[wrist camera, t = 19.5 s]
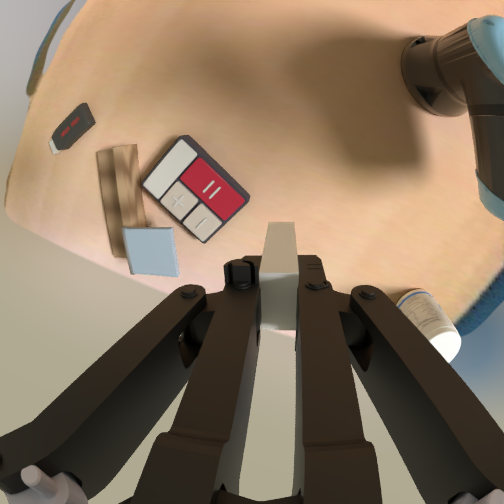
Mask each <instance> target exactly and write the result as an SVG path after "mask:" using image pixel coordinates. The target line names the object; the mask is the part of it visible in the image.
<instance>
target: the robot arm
mask: <svg viewBox="0 0 504 504" xmlns="http://www.w3.org/2000/svg"><path fill="white" fill-rule="evenodd" d="M401 69H402V74H403V78H404V81H405V83H406V85H407V87H408V89H409V91H410V93H411V94H412V96H413V97H414V98H415V100H416V101H417V102H418V103H419V104H420V105H421V106H422V107H424V108H425V109H426V110H428V111H429V112H431V113H433V114H435V115H438V116H441V117H457V116H460V115H463V114H465V113H466V112H467V111H468V112H469V118H470V124H471V130H472V136H473V143H474V151H475V160H476V170H475V171H476V177H477V179H478V189H479V197H480V200H481V202H482V203H483V205H484V207H485V208H486V209H487V210H488V211H489V212H490V213H491V214H493V215H494V216H496V217H497V218H499V219H501V220H503V221H504V18H503V17H500V16H496V15H487V16H484V17H481V18H474V19H471V20H470V21H469V22H468V23H466V24H464V25H462V26H460V27H458V28H456V29H455V30H453V31H451V32H449V33H447V34H445V35H444V36H422V37H419V38H417V39H415V40H413V41H412V42H410V43H409V44H408V45H407V46H406V48H405V49H404V51H403V54H402V59H401ZM478 115H479V116H478ZM480 115H485V116H480ZM486 115H490V116H486ZM224 275H225V287H224V289H223V291H220V292H217V293H211V294H206V292H205V289H204V288H203V287H202V286H199V285H193V284H189V285H184V286H182V287H179V288H177V289H176V290H174V291H173V292H172V293H171V294H170V295H169V296H168V297H167V298H165V299H164V300H163V301H162V302H161V303H160V304H159V305H157V306H156V307H155V308H154V309H153V310H152V311H151V312H150V313H148V315H146V316H145V317H144V318H143V319H142V320H141V321H140V322H139V323H137V324H136V325H135V326H134V327H133V328H132V329H131V330H130V331H128V332H127V333H126V334H125V335H124V336H123V337H122V338H121V339H120V340H118V341H117V342H116V343H115V344H114V345H113V346H112V347H111V348H110V349H109V350H108V351H106V352H105V353H104V354H103V355H102V356H101V357H100V358H99V359H98V360H97V361H95V363H93V364H92V365H91V366H90V367H89V368H88V369H87V370H86V371H85V372H84V373H83V374H81V375H80V376H79V377H78V378H77V379H76V380H75V381H74V382H73V383H72V384H71V385H70V386H69V387H68V388H67V389H65V390H64V392H62V393H61V394H60V395H59V396H58V397H57V398H56V399H55V400H54V401H53V402H52V403H51V404H50V405H49V406H48V407H47V408H46V409H45V410H43V411H42V412H41V413H40V414H39V415H38V416H37V417H36V418H35V419H34V420H33V421H32V422H30V423H28V424H26V425H24V426H22V427H20V428H18V429H16V430H14V431H12V432H10V433H8V434H6V435H4V436H2V437H0V489H1V490H2V491H3V492H4V493H5V495H6V497H7V499H8V502H9V504H88V500H89V499H91V498H93V497H94V496H96V495H97V494H98V493H99V492H100V491H102V490H103V489H104V488H105V487H106V486H107V485H108V484H109V483H110V482H111V480H113V478H114V477H115V476H116V475H117V473H118V472H119V471H120V470H121V468H122V467H123V466H124V465H125V463H126V462H127V461H128V459H129V458H130V457H131V455H132V454H133V453H134V452H135V450H136V449H137V448H138V446H139V445H140V444H141V443H142V441H143V440H144V439H145V437H146V436H147V435H148V434H149V432H150V431H151V430H152V428H153V427H154V426H155V424H156V423H157V422H158V420H159V419H160V418H161V416H162V415H163V414H164V412H165V411H166V410H167V408H168V407H169V406H170V404H171V403H172V402H173V400H174V399H175V398H176V396H177V395H178V394H179V392H180V391H181V390H182V388H183V387H184V386H185V384H186V383H187V381H188V380H189V381H188V384H187V386H186V389H185V392H184V395H183V397H182V400H181V403H180V405H179V408H178V411H177V413H176V416H175V419H174V421H173V424H172V427H171V429H170V430H169V431H168V432H163V433H160V434H159V435H158V436H157V437H156V440H155V442H154V443H153V446H152V448H151V451H150V453H149V456H148V459H147V461H146V464H145V466H144V469H143V471H142V474H141V477H140V479H139V482H138V484H137V487H136V490H135V493H134V495H133V496H132V497H130V498H128V499H126V500H125V501H123V502H121V503H119V504H382V495H381V486H380V478H379V472H378V464H377V457H376V453H375V449H374V446H373V444H372V443H371V442H368V441H366V440H365V438H364V433H363V428H362V421H361V415H360V409H359V404H358V398H357V393H356V388H355V383H354V377H353V373H352V368H351V365H352V366H353V368H354V370H355V372H356V373H357V375H358V377H359V379H360V381H361V382H362V384H363V386H364V388H365V389H366V391H367V393H368V395H369V397H370V399H371V400H372V402H373V404H374V406H375V408H376V409H377V412H378V413H379V415H380V417H381V419H382V420H383V423H384V425H385V426H386V428H387V430H388V432H389V434H390V436H391V438H392V439H393V441H394V443H395V445H396V447H397V449H398V451H399V453H400V455H401V457H402V459H403V461H404V463H405V465H406V466H407V469H408V471H409V473H410V474H411V476H412V478H413V480H414V483H415V485H416V487H417V489H418V490H419V493H420V494H421V496H422V498H423V499H424V501H425V503H426V504H504V433H503V431H502V430H501V429H500V427H499V426H498V425H497V423H496V422H495V420H494V419H493V418H492V417H491V415H490V414H489V412H488V411H487V410H486V409H485V407H484V406H483V405H482V404H481V402H480V401H479V400H478V398H477V397H476V396H475V394H474V393H473V392H472V391H471V390H470V388H469V387H468V386H467V385H466V383H465V382H464V381H463V380H462V378H461V377H460V376H459V375H458V374H457V373H456V371H455V370H454V369H453V368H452V367H451V365H450V364H449V363H448V362H447V361H446V360H445V358H444V357H443V356H442V355H441V354H440V353H439V352H438V350H437V349H436V348H435V347H434V346H433V345H432V344H431V343H430V341H429V340H428V339H427V338H426V337H425V336H424V335H423V334H422V333H421V332H420V330H419V329H418V328H417V327H416V326H415V325H414V324H413V323H412V322H411V321H410V320H409V319H408V317H407V316H406V315H405V314H404V313H403V312H402V311H401V310H400V309H399V308H398V307H397V306H396V305H395V304H394V303H393V302H392V301H391V300H390V299H389V298H388V297H387V296H386V295H385V294H384V293H383V292H382V291H381V290H380V289H378V288H376V287H373V286H371V285H360V286H357V287H354V288H353V289H352V291H351V295H350V294H344V293H340V292H337V291H334V290H333V288H332V285H331V283H330V282H329V281H327V280H326V277H325V273H324V269H323V265H322V261H321V259H320V258H319V257H317V256H316V255H297V246H296V235H295V225H294V222H269V224H268V229H267V234H266V239H265V244H264V250H263V255H262V256H244V257H243V258H242V259H235V260H231V261H229V262H227V263H226V264H225V265H224ZM260 325H261V330H296V340H295V351H296V422H295V423H296V424H295V455H294V478H293V489H292V496H290V497H285V498H280V499H274V500H268V501H255V500H251V499H248V498H245V497H242V496H239V479H240V472H241V465H242V460H243V453H244V447H245V441H246V434H247V427H248V421H249V415H250V408H251V401H252V394H253V387H254V380H255V373H256V366H257V359H258V352H259V344H260ZM180 335H181V336H180Z"/></svg>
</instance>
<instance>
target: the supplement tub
mask: <svg viewBox="0 0 504 504" xmlns="http://www.w3.org/2000/svg"><path fill="white" fill-rule="evenodd" d="M396 306H397V307H398V308H399V309H400V310H401V311H402V312H403V313H404V314H405V315H406V316H407V317H408V319H409V320H410V321H411V322H412V323H413V324H414V325H415V326H416V327H417V328H418V329H419V330H420V332H421V333H422V334H423V335H424V336H425V337H426V338H427V339H428V340H429V341H430V343H431V344H432V345H433V346H434V347H435V348H436V349H437V350H438V352H439V353H440V354H441V355H442V356H443V357H444V358H445V360H446V361H447V362H448V363H449V362H450V361H451V360H452V359H453V358H454V357H455V355H456V354H457V353H458V351H459V348H460V345H461V338H460V336H459V334H458V331H457V330H456V328H455V327H454V325H453V324H452V322H451V321H450V320H449V318H448V317H447V315H446V314H445V313H444V311H443V310H442V309H441V307H440V306H439V304H438V303H437V302H436V300H435V299H434V298H433V296H432V295H431V294H430V293H429V292H427V291H426V290H422V289H417V290H412V291H410V292H408V293H406V294H405V295H404V296H403V297H401V299H400V300H399V301H398V303H397V304H396Z"/></svg>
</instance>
